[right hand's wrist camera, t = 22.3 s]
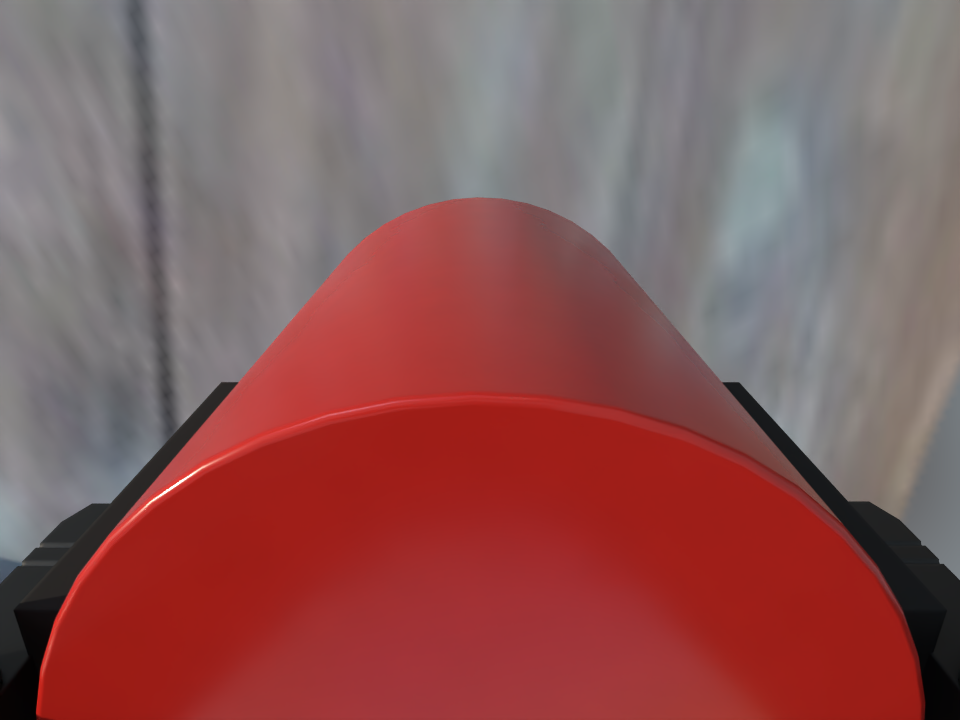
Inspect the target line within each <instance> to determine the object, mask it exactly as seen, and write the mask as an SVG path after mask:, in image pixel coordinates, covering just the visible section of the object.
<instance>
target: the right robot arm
mask: <svg viewBox="0 0 960 720" xmlns="http://www.w3.org/2000/svg"><path fill="white" fill-rule="evenodd" d="M238 383H239V382H221V383H220V384H219V386H218V387H217V388H216V389H215V390H214V391H213V392H212V393H211V394H210V395H209V396H208V398H207V399H206V400H205V401H204V402H203V403H202V404H201V405H200V406H199V407H198V408H197V410H196V411H195V412H194V413H193V414H192V415H191V416H190V417H189V418H188V419H187V421H186V422H185V423H184V424H183V425H182V426H181V427H180V428H179V429H178V430H177V431H176V433H175V434H174V435H173V436H172V437H171V438H170V439H169V440H168V441H167V442H166V444H165V445H164V446H163V447H162V448H161V449H160V450H159V451H158V452H157V453H156V454H155V456H154V457H153V458H152V459H151V460H150V461H149V462H148V463H147V464H146V465H145V466H144V468H143V469H142V470H141V471H140V472H139V473H138V474H137V475H136V476H135V477H134V479H133V480H132V481H131V482H130V483H129V484H128V485H127V486H126V487H125V488H124V489H123V491H122V492H121V493H120V494H119V495H118V496H117V497H116V498H115V499H114V500H113V501H112V503H111V504H91V505H89V506H87V507H86V508H84V509H82V510H81V511H79V512H77V513H76V514H74V515H72V516H71V517H69V518H67V519H66V520H64V521H62V522H61V523H60V524H59V525H58V526H57V527H56V528H55V529H54V530H53V531H52V532H51V533H50V534H49V535H48V536H47V537H46V538H45V539H44V540H43V541H42V542H41V543H40V548H35V549H34V550H33V551H32V552H31V553H30V554H29V555H28V556H27V557H26V558H25V559H24V560H23V561H22V566H17V567H16V569H15V570H14V571H13V572H12V573H11V574H10V575H9V576H8V577H7V578H6V579H5V580H4V581H3V582H2V583H1V584H0V720H37V716H36V709H37V699H38V689H39V679H40V669H41V664H42V660H43V657H44V654H45V650H46V647H47V644H48V640H49V637H50V634H51V631H52V627H53V624H54V621H55V618H56V616H57V614H58V612H59V610H60V608H61V606H62V604H63V602H64V600H65V599H66V597H67V595H68V593H69V591H70V589H71V587H72V585H73V583H74V581H75V579H76V577H77V575H78V574H79V573H80V572H81V570H82V569H83V568H84V566H85V565H86V564H87V562H88V561H89V560H90V559H91V557H92V556H93V555H94V553H95V552H96V551H97V549H98V548H99V547H100V546H101V544H102V543H103V542H104V540H105V539H106V538H107V537H108V535H109V534H110V533H111V532H112V530H113V529H114V528H115V527H116V526H117V525H118V523H119V522H120V521H121V520H122V519H123V518H124V516H125V515H126V514H127V513H128V512H129V510H130V509H131V508H132V507H133V506H134V505H135V503H136V502H137V501H138V500H139V499H140V498H141V496H142V495H143V494H144V493H145V492H146V491H147V489H148V488H149V487H150V486H151V485H152V484H153V482H154V481H155V480H156V479H157V478H158V476H159V475H160V474H161V473H162V472H163V471H164V469H165V468H166V467H167V466H168V465H169V464H170V462H171V461H172V460H173V459H174V458H175V457H176V455H177V454H178V453H179V452H180V451H181V450H182V448H183V447H184V446H185V445H186V444H187V442H188V441H189V440H190V439H191V438H192V437H193V435H194V434H195V433H196V432H197V431H198V430H199V428H200V427H201V426H202V425H203V424H204V423H205V421H206V420H207V419H208V418H209V417H210V416H211V414H212V413H213V412H214V411H215V410H216V409H217V407H218V406H219V405H220V404H221V403H222V401H223V400H224V399H225V398H226V397H227V396H228V394H229V393H230V392H231V391H232V390H233V389H234V387H235V386H236V385H237V384H238ZM722 383H723V384H724V385H725V387H726V388H727V389H728V390H729V391H730V392H731V394H732V395H733V396H734V397H735V398H736V400H737V401H738V402H739V403H740V404H741V405H742V407H743V408H744V409H745V410H746V411H747V412H748V414H749V415H750V416H751V417H752V418H753V419H754V421H755V422H756V423H757V424H758V425H759V426H760V428H761V429H762V430H763V431H764V432H765V433H766V435H767V436H768V437H769V438H770V439H771V441H772V442H773V443H774V444H775V445H776V446H777V448H778V449H779V450H780V451H781V452H782V453H783V455H784V456H785V457H786V458H787V459H788V460H789V462H790V463H791V464H792V465H793V466H794V467H795V469H796V470H797V471H798V472H799V473H800V474H801V476H802V477H803V478H804V479H805V480H806V482H807V483H808V484H809V485H810V486H811V487H812V489H813V490H814V491H815V492H816V493H817V494H818V496H819V497H820V498H821V499H822V500H823V501H824V503H825V504H826V505H827V506H828V507H829V508H830V510H831V511H832V512H833V513H834V514H835V515H836V517H837V518H838V519H839V520H840V521H841V523H842V524H843V525H844V526H845V527H846V528H847V530H848V531H849V532H850V533H851V534H852V536H853V537H854V538H855V539H856V540H857V542H858V543H859V544H860V545H861V546H862V548H863V549H864V550H865V551H866V552H867V553H868V555H869V556H870V557H871V558H872V559H873V561H874V562H875V563H876V564H877V566H878V567H879V569H880V571H881V572H882V574H883V576H884V578H885V579H886V581H887V583H888V585H889V586H890V588H891V590H892V592H893V593H894V595H895V597H896V599H897V600H898V602H899V604H900V605H901V607H902V609H903V612H904V615H905V618H906V621H907V624H908V626H909V629H910V632H911V635H912V638H913V641H914V644H915V646H916V649H917V652H918V657H919V663H920V669H921V676H922V683H923V690H924V697H925V720H960V580H959V579H958V578H957V577H956V576H955V575H954V574H953V573H952V572H951V571H950V570H949V569H948V568H947V567H946V566H945V565H944V564H940V563H939V559H938V558H937V557H936V556H935V555H934V554H933V553H932V552H931V551H930V550H929V549H928V548H927V547H926V546H922V545H921V541H920V540H919V539H918V538H917V537H916V536H915V535H914V534H913V533H912V532H911V531H910V530H909V529H908V528H907V527H906V526H905V525H904V524H903V523H902V522H901V521H900V520H899V519H897V518H896V517H894V516H892V515H890V514H889V513H887V512H885V511H884V510H882V509H880V508H879V507H877V506H875V505H874V504H872V503H870V502H848V501H847V500H846V499H845V498H844V497H843V496H842V494H841V493H840V492H839V491H838V490H837V489H836V488H835V487H834V486H833V485H832V484H831V482H830V481H829V480H828V479H827V478H826V477H825V476H824V475H823V474H822V473H821V471H820V470H819V469H818V468H817V467H816V466H815V465H814V464H813V463H812V462H811V461H810V459H809V458H808V457H807V456H806V455H805V454H804V453H803V452H802V451H801V450H800V449H799V447H798V446H797V445H796V444H795V443H794V442H793V441H792V440H791V439H790V438H789V436H788V435H787V434H786V433H785V432H784V431H783V430H782V429H781V428H780V427H779V426H778V424H777V423H776V422H775V421H774V420H773V419H772V418H771V417H770V416H769V415H768V414H767V412H766V411H765V410H764V409H763V408H762V407H761V406H760V405H759V404H758V403H757V401H756V400H755V399H754V398H753V397H752V396H751V395H750V394H749V393H748V392H747V391H746V389H745V388H744V387H743V386H742V385H741V384H740V383H739V382H722Z"/></svg>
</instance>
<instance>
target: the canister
mask: <svg viewBox="0 0 960 720" xmlns="http://www.w3.org/2000/svg"><path fill="white" fill-rule="evenodd" d="M36 716H37V720H925V697H924V690H923V683H922V676H921V669H920V663H919V657H918V652H917V649H916V646H915V644H914V641H913V638H912V635H911V632H910V629H909V626H908V624H907V621H906V618H905V615H904V612H903V609H902V607H901V605H900V604H899V602H898V600H897V599H896V597H895V595H894V593H893V592H892V590H891V588H890V586H889V585H888V583H887V581H886V579H885V578H884V576H883V574H882V572H881V571H880V569H879V567H878V566H877V564H876V563H875V562H874V561H873V559H872V558H871V557H870V556H869V555H868V553H867V552H866V551H865V550H864V549H863V548H862V546H861V545H860V544H859V543H858V542H857V540H856V539H855V538H854V537H853V536H852V534H851V533H850V532H849V531H848V530H847V528H846V527H845V526H844V525H843V524H842V523H841V521H840V520H839V519H838V518H837V517H836V515H835V514H834V513H833V512H832V511H831V510H830V508H829V507H828V506H827V505H826V504H825V503H824V501H823V500H822V499H821V498H820V497H819V496H818V494H817V493H816V492H815V491H814V490H813V489H812V487H811V486H810V485H809V484H808V483H807V482H806V480H805V479H804V478H803V477H802V476H801V474H800V473H799V472H798V471H797V470H796V469H795V467H794V466H793V465H792V464H791V463H790V462H789V460H788V459H787V458H786V457H785V456H784V455H783V453H782V452H781V451H780V450H779V449H778V448H777V446H776V445H775V444H774V443H773V442H772V441H771V439H770V438H769V437H768V436H767V435H766V433H765V432H764V431H763V430H762V429H761V428H760V426H759V425H758V424H757V423H756V422H755V421H754V419H753V418H752V417H751V416H750V415H749V414H748V412H747V411H746V410H745V409H744V408H743V407H742V405H741V404H740V403H739V402H738V401H737V400H736V398H735V397H734V396H733V395H732V394H731V392H730V391H729V390H728V389H727V388H726V387H725V385H724V384H723V383H722V382H721V381H720V380H719V378H718V377H717V376H716V375H715V374H714V373H713V371H712V370H711V369H710V368H709V367H708V366H707V364H706V363H705V362H704V361H703V360H702V359H701V357H700V356H699V355H698V354H697V353H696V351H695V350H694V349H693V348H692V347H691V346H690V344H689V343H688V342H687V341H686V340H685V339H684V337H683V336H682V335H681V334H680V333H679V332H678V330H677V329H676V328H675V327H674V326H673V325H672V323H671V322H670V321H669V320H668V319H667V318H666V316H665V315H664V314H663V313H662V312H661V310H660V309H659V308H658V307H657V306H656V305H655V303H654V302H653V301H652V300H651V299H650V298H649V296H648V295H647V294H646V293H645V292H644V291H643V289H642V288H641V287H640V286H639V285H638V284H637V282H636V281H635V280H634V279H633V278H632V277H631V275H630V274H629V273H628V272H627V271H626V269H625V268H624V267H623V266H622V265H621V264H620V262H619V261H618V260H617V259H616V258H615V257H614V255H613V254H612V253H611V252H610V251H609V250H608V249H607V248H606V247H605V246H604V245H603V244H601V243H600V242H599V241H598V240H597V239H596V238H595V237H594V236H592V235H591V234H590V233H588V232H587V231H585V230H584V229H582V228H581V227H579V226H578V225H576V224H575V223H573V222H572V221H570V220H568V219H566V218H564V217H561V216H559V215H557V214H555V213H553V212H551V211H549V210H546V209H543V208H540V207H537V206H534V205H531V204H527V203H523V202H517V201H512V200H507V199H498V198H478V197H477V198H465V199H453V200H448V201H444V202H439V203H435V204H430V205H427V206H424V207H421V208H418V209H416V210H413V211H410V212H408V213H405V214H403V215H401V216H399V217H397V218H396V219H394V220H392V221H390V222H388V223H386V224H384V225H383V226H381V227H380V228H379V229H377V230H376V231H374V232H373V233H372V234H370V235H369V236H367V237H366V238H365V239H364V240H363V241H362V242H360V243H359V244H358V245H357V246H356V247H355V248H354V249H353V250H352V251H351V252H350V253H349V254H348V255H347V256H346V257H345V259H344V260H343V261H342V262H341V263H340V264H339V266H338V267H337V268H336V269H335V270H334V271H333V273H332V274H331V275H330V276H329V277H328V278H327V280H326V281H325V282H324V283H323V284H322V285H321V287H320V288H319V289H318V290H317V291H316V292H315V294H314V295H313V296H312V297H311V298H310V300H309V301H308V302H307V303H306V304H305V305H304V307H303V308H302V309H301V310H300V311H299V312H298V314H297V315H296V316H295V317H294V318H293V319H292V321H291V322H290V323H289V324H288V325H287V326H286V328H285V329H284V330H283V331H282V332H281V334H280V335H279V336H278V337H277V338H276V339H275V341H274V342H273V343H272V344H271V345H270V346H269V348H268V349H267V350H266V351H265V352H264V353H263V355H262V356H261V357H260V358H259V359H258V360H257V362H256V363H255V364H254V365H253V366H252V367H251V369H250V370H249V371H248V372H247V373H246V375H245V376H244V377H243V378H242V379H241V380H240V382H239V383H238V384H237V385H236V386H235V387H234V389H233V390H232V391H231V392H230V393H229V394H228V396H227V397H226V398H225V399H224V400H223V401H222V403H221V404H220V405H219V406H218V407H217V409H216V410H215V411H214V412H213V413H212V414H211V416H210V417H209V418H208V419H207V420H206V421H205V423H204V424H203V425H202V426H201V427H200V428H199V430H198V431H197V432H196V433H195V434H194V435H193V437H192V438H191V439H190V440H189V441H188V442H187V444H186V445H185V446H184V447H183V448H182V450H181V451H180V452H179V453H178V454H177V455H176V457H175V458H174V459H173V460H172V461H171V462H170V464H169V465H168V466H167V467H166V468H165V469H164V471H163V472H162V473H161V474H160V475H159V476H158V478H157V479H156V480H155V481H154V482H153V484H152V485H151V486H150V487H149V488H148V489H147V491H146V492H145V493H144V494H143V495H142V496H141V498H140V499H139V500H138V501H137V502H136V503H135V505H134V506H133V507H132V508H131V509H130V510H129V512H128V513H127V514H126V515H125V516H124V518H123V519H122V520H121V521H120V522H119V523H118V525H117V526H116V527H115V528H114V529H113V530H112V532H111V533H110V534H109V535H108V537H107V538H106V539H105V540H104V542H103V543H102V544H101V546H100V547H99V548H98V549H97V551H96V552H95V553H94V555H93V556H92V557H91V559H90V560H89V561H88V562H87V564H86V565H85V566H84V568H83V569H82V570H81V572H80V573H79V574H78V575H77V577H76V579H75V581H74V583H73V585H72V587H71V589H70V591H69V593H68V595H67V597H66V599H65V600H64V602H63V604H62V606H61V608H60V610H59V612H58V614H57V616H56V618H55V621H54V624H53V627H52V631H51V634H50V637H49V640H48V644H47V647H46V650H45V654H44V657H43V660H42V664H41V669H40V679H39V689H38V699H37V709H36Z"/></svg>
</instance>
